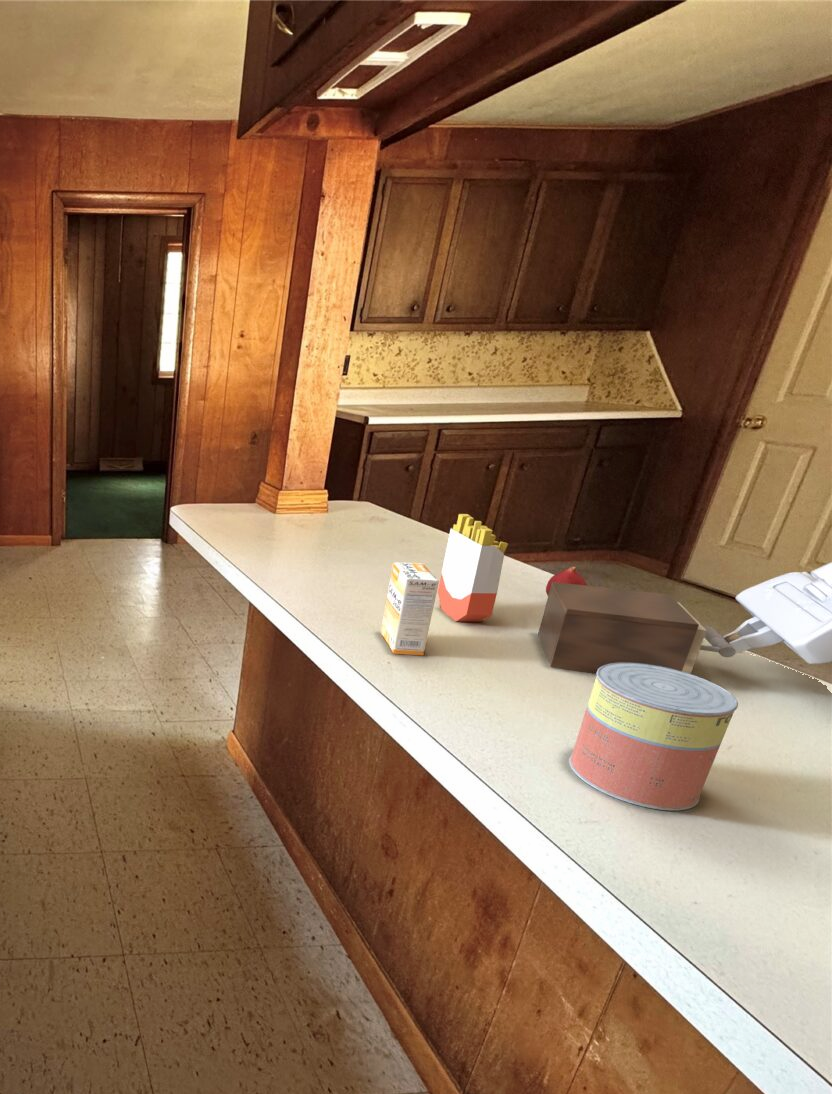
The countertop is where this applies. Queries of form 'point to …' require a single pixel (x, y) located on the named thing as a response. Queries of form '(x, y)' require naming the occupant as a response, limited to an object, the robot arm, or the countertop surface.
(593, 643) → the cabinet
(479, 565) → the french fries container
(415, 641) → the supplement box
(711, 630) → the drawer
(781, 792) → the countertop surface
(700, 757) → the canned food
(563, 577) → the onion
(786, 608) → the robot arm
